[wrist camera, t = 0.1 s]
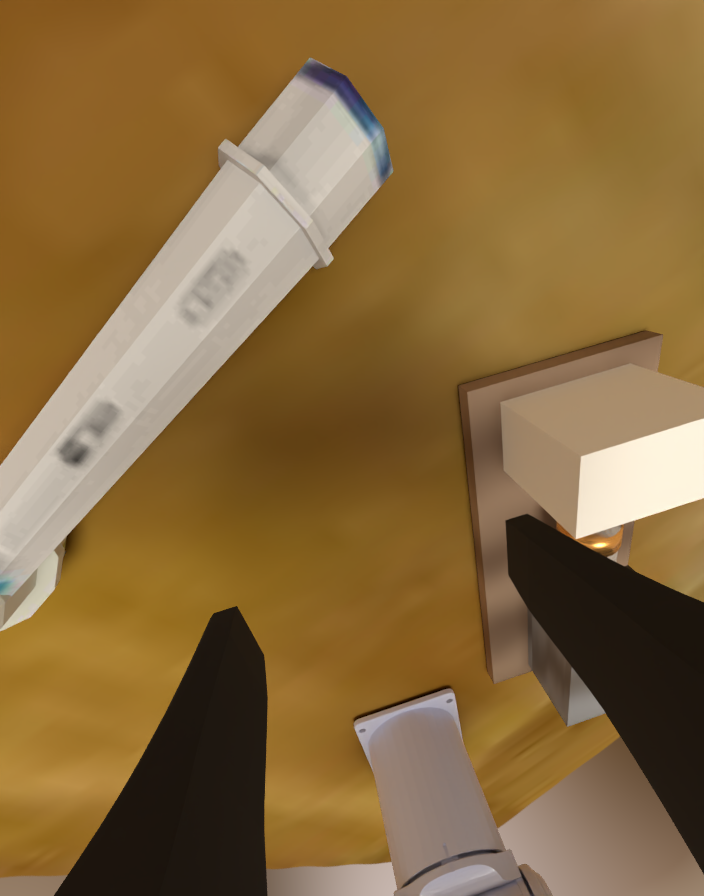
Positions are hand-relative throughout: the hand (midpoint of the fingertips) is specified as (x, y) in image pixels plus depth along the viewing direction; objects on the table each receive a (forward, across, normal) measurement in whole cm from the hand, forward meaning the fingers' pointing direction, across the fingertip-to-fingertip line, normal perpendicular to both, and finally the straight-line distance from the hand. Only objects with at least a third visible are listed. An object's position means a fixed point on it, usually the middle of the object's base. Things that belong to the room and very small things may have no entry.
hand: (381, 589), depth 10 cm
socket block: (+10, -12, +3) cm, 16 cm away
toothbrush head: (+11, +7, -4) cm, 14 cm away
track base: (+10, -12, +12) cm, 19 cm away
